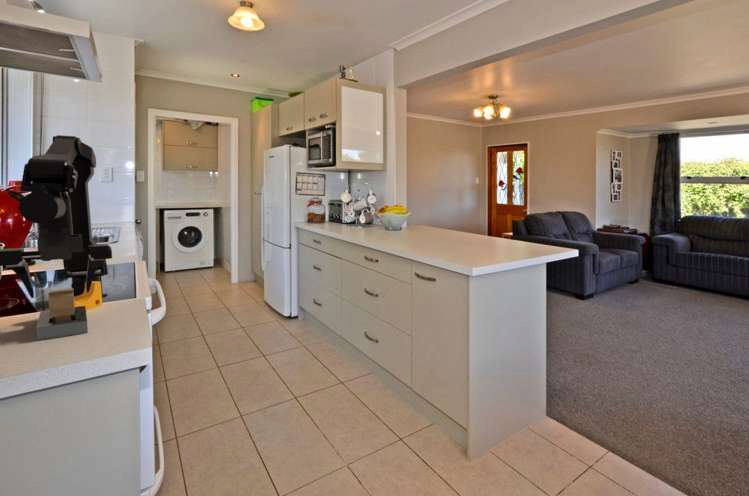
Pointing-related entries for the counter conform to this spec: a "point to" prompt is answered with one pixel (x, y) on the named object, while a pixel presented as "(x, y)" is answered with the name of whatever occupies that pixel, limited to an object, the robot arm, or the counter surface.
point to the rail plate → (61, 324)
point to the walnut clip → (61, 304)
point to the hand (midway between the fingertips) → (61, 294)
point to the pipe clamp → (90, 297)
